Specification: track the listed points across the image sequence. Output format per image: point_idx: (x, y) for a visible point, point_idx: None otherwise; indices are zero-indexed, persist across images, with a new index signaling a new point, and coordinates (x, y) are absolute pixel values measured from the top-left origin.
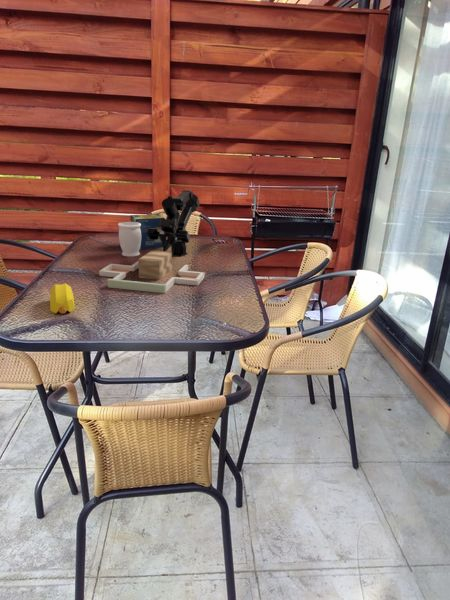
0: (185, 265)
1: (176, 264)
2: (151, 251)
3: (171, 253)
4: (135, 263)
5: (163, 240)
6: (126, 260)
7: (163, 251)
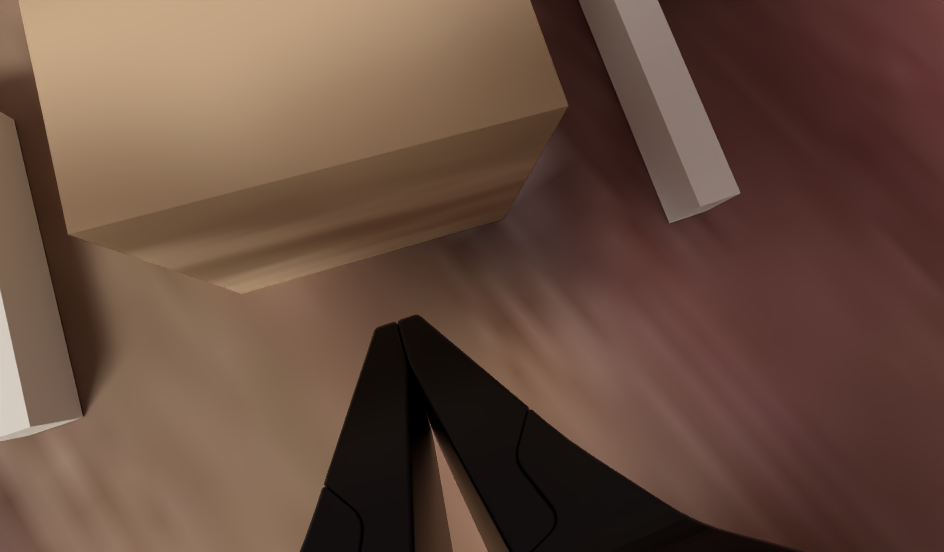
0: (1, 389)
1: None
2: (511, 15)
3: (80, 210)
4: (672, 61)
5: (552, 502)
6: (938, 262)
7: (287, 159)
